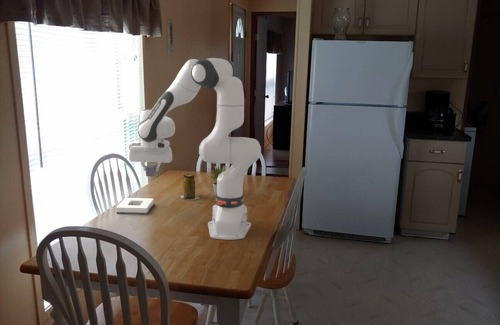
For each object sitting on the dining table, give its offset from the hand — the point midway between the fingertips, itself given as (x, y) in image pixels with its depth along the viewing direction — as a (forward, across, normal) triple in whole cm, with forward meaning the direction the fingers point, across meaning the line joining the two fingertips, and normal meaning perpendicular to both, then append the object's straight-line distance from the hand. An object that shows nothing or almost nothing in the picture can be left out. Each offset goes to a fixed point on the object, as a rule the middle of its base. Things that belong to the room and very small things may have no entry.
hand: (151, 170), depth 213 cm
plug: (+2, 0, 0) cm, 2 cm away
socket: (+17, -6, -6) cm, 19 cm away
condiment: (+18, +16, +14) cm, 28 cm away
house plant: (+18, +31, +19) cm, 40 cm away
